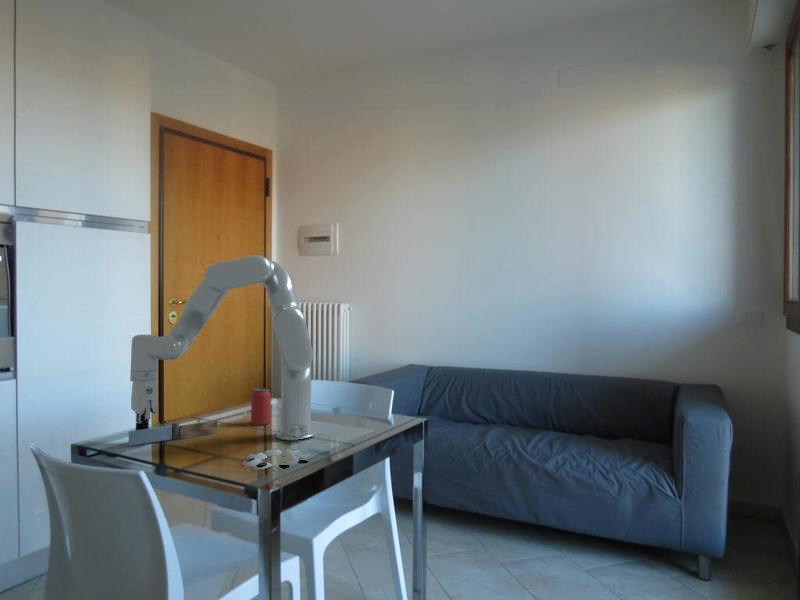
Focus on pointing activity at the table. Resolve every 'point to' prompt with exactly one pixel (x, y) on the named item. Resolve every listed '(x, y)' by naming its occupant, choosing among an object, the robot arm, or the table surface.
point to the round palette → (257, 457)
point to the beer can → (260, 406)
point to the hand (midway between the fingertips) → (141, 435)
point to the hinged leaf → (150, 435)
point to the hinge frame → (193, 430)
